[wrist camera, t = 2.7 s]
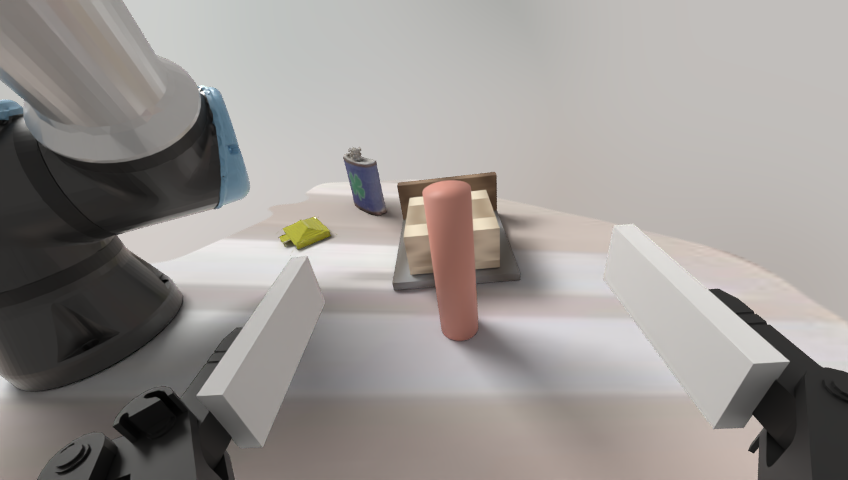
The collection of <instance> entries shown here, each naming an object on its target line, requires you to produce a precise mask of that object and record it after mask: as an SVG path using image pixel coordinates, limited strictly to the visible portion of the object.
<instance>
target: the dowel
mask: <svg viewBox="0 0 848 480" xmlns="http://www.w3.org/2000/svg"><path fill="white" fill-rule="evenodd" d="M422 193H423V201H424V208H425V215H426V222H427V229H428V236H429V243H430V250H431V258H432V265H433V272H434V279H435V286H436V293H437V300H438V308H439V315H440V322H441V329H442V332H443V334H444V335H445V336H446V337H448V338H449V339H452V340H455V341H464V340H467V339H470V338H472V337H473V336H474V335H475V334H476V333H477V331H478V311H477V292H476V273H475V254H474V235H473V216H472V197H471V186H470V185H469V184H468V183H466V182H463V181H458V180H447V181H440V182H436V183H433V184H431V185H429V186H427V187H425V188H424V189H423V192H422Z"/></svg>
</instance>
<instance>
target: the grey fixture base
mask: <svg viewBox="0 0 848 480" xmlns="http://www.w3.org/2000/svg"><path fill="white" fill-rule="evenodd" d="M447 180H458V181H463V182H466V183H468V184H469V185H470V186H471V191H479V190H486V191H487V194H488V197H489V199H490V202H491V205H492V208H493V211H494V213H495V216H496V219H497V222H498V225H499V227H500V267H496V268H484V269H475V273H476V283H488V282H500V281H512V280H520V270H519V268H518V265H517V263H516V260H515V257H514V255H513V252H512V249H511V247H510V244H509V241H508V239H507V236H506V233H505V231H504V228H503V226H502V223H501V220H500V218H499V215H498V212H497V183H496V173H495V172H490V173H481V174H472V175H463V176H455V177H446V178H437V179H428V180H419V181H410V182H401V183H398V185H397V187H398V192H399V198H400V203H401V209H402V214H403V225H402V231H401V237H400V243H399V249H398V254H397V260H396V266H395V272H394V277H393V288H394V290H401V289H414V288H426V287H436V286H435V279H434V273H426V274H414V275H410V270H409V264H408V259H407V254H406V249H405V243H404V238H403V237H404V230H405V224H406V218H407V211H408V205H409V199H410V198H414V197H423V193H422V192H423V189H424V188H425V187H427V186H429V185H431V184H433V183H436V182H440V181H447Z"/></svg>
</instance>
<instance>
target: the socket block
mask: <svg viewBox="0 0 848 480" xmlns="http://www.w3.org/2000/svg"><path fill="white" fill-rule="evenodd" d="M471 197H472V216H473V235H474V254H475V269H484V268H496V267H500V227H499V225H498V222H497V219H496V216H495V213H494V211H493V208H492V205H491V202H490V199H489V197H488V194H487V191H486V190H479V191H471ZM403 238H404V243H405V249H406V254H407V259H408V264H409V270H410V275H414V274H426V273H434V272H433V265H432V258H431V250H430V243H429V236H428V229H427V222H426V215H425V208H424V201H423V197H414V198H410V199H409V205H408V211H407V218H406V224H405V230H404V237H403Z"/></svg>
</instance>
